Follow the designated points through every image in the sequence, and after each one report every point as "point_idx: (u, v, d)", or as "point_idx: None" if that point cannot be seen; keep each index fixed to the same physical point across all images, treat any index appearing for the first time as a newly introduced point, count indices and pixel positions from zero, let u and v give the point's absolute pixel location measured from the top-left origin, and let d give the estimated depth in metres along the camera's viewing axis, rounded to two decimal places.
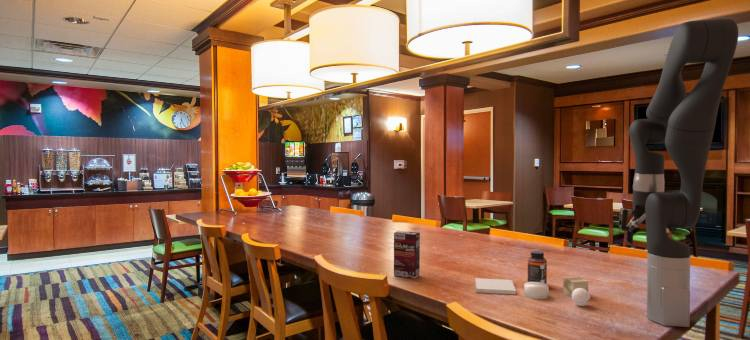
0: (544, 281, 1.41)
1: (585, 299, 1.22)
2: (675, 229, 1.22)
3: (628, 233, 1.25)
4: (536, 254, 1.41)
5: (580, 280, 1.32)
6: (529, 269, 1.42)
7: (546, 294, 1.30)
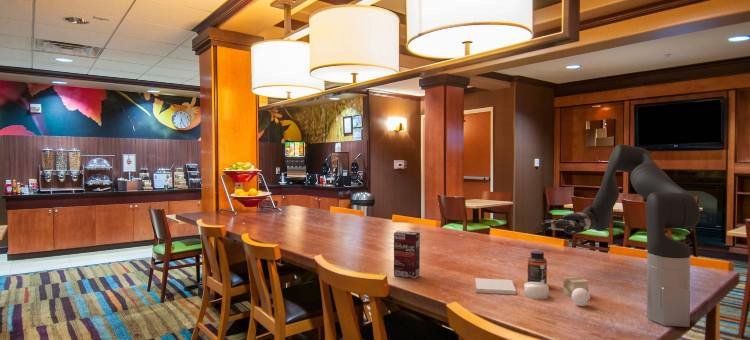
0: (544, 281, 1.41)
1: (585, 299, 1.22)
2: (580, 225, 1.48)
3: None
4: (536, 254, 1.41)
5: (580, 280, 1.32)
6: (529, 269, 1.42)
7: (546, 294, 1.30)
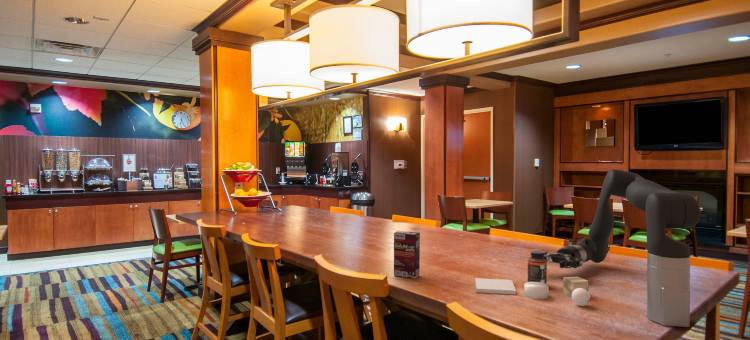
0: (544, 281, 1.41)
1: (585, 299, 1.22)
2: (575, 260, 1.46)
3: None
4: (536, 254, 1.41)
5: (580, 280, 1.32)
6: (529, 269, 1.42)
7: (546, 294, 1.30)
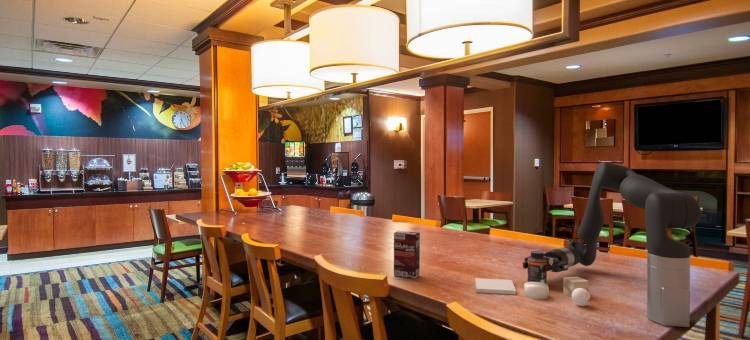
0: (544, 281, 1.41)
1: (585, 299, 1.22)
2: (557, 264, 1.40)
3: None
4: (536, 254, 1.41)
5: (580, 280, 1.32)
6: (529, 269, 1.42)
7: (546, 294, 1.30)
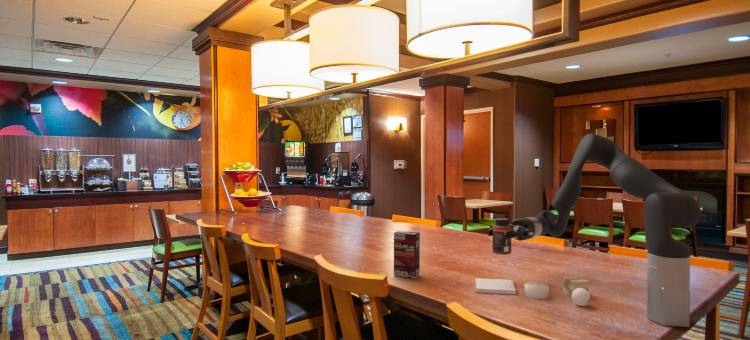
0: (508, 248, 1.39)
1: (585, 299, 1.22)
2: (521, 231, 1.38)
3: None
4: (500, 221, 1.40)
5: (580, 280, 1.32)
6: (493, 236, 1.41)
7: (546, 294, 1.30)
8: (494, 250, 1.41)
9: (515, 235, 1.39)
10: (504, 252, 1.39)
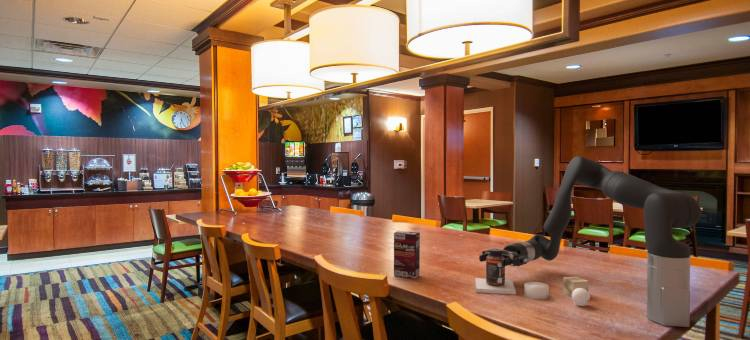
0: (502, 279, 1.39)
1: (585, 299, 1.22)
2: (518, 258, 1.38)
3: None
4: (494, 252, 1.39)
5: (580, 280, 1.32)
6: (487, 267, 1.40)
7: (546, 294, 1.30)
8: (488, 281, 1.40)
9: (512, 262, 1.38)
10: (498, 283, 1.38)
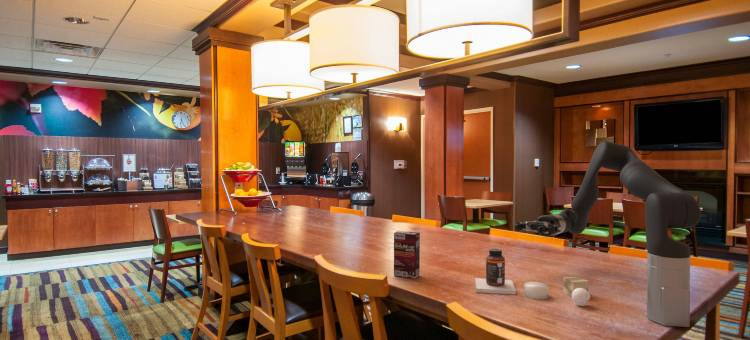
0: (502, 279, 1.39)
1: (585, 299, 1.22)
2: (553, 226, 1.45)
3: None
4: (494, 252, 1.39)
5: (580, 280, 1.32)
6: (487, 267, 1.40)
7: (546, 294, 1.30)
8: (487, 281, 1.40)
9: (548, 230, 1.46)
10: (497, 284, 1.38)
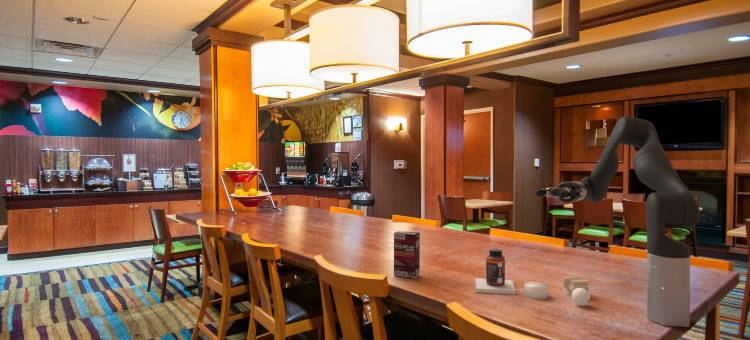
0: (502, 279, 1.39)
1: (585, 299, 1.22)
2: (575, 191, 1.46)
3: None
4: (494, 252, 1.39)
5: (580, 280, 1.32)
6: (487, 267, 1.40)
7: (546, 294, 1.30)
8: (487, 281, 1.40)
9: (570, 195, 1.46)
10: (497, 284, 1.38)
